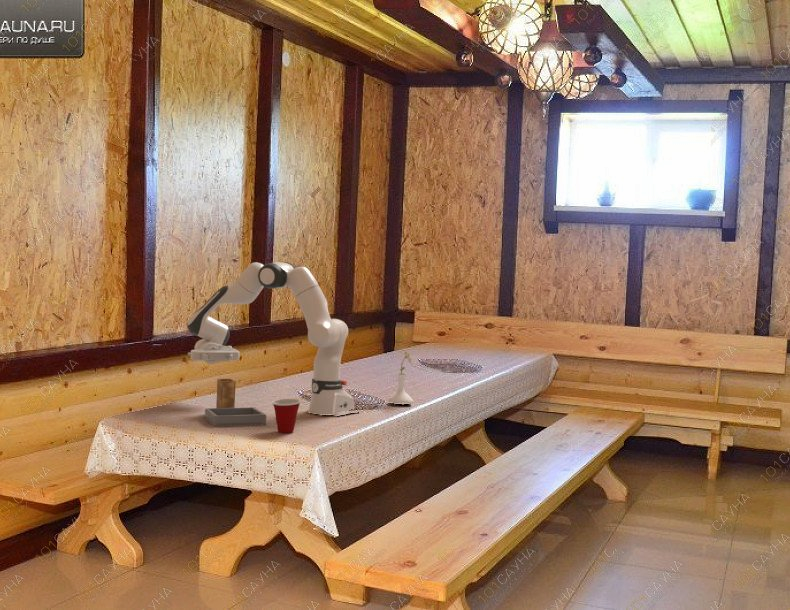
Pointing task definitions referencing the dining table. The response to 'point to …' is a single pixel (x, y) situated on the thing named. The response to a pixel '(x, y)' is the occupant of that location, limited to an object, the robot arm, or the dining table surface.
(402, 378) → the flower in vase
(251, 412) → the gray tray
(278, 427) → the plastic cup
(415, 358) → the dining table surface
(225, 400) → the wooden pencil holder
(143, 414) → the dining table surface
